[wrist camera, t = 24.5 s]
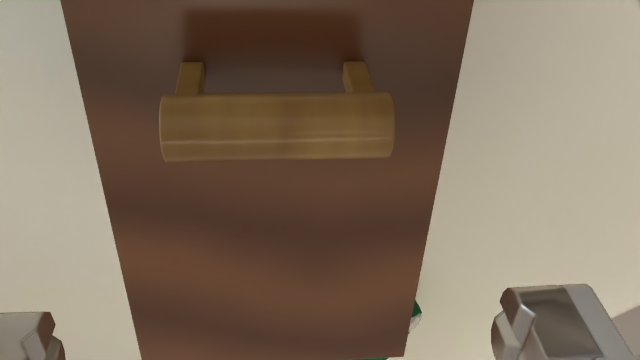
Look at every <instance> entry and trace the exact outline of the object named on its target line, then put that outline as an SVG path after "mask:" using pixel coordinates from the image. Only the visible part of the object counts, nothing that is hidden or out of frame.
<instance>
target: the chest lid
mask: <svg viewBox="0 0 640 360" xmlns="http://www.w3.org/2000/svg"><path fill="white" fill-rule="evenodd" d="M473 2H474V0H61V5H62V9H63V14H64V18H65V22H66V27H67V31H68V36H69V40H70V45H71V49H72V53H73V58H74V62H75V67H76V71H77V76H78V80H79V84H80V89H81V93H82V98H83V102H84V106H85V111H86V115H87V120H88V124H89V129H90V133H91V137H92V142H93V146H94V151H95V155H96V160H97V164H98V168H99V173H100V177H101V182H102V186H103V191H104V195H105V199H106V204H107V208H108V213H109V217H110V221H111V226H112V230H113V235H114V239H115V244H116V248H117V252H118V257H119V261H120V266H121V270H122V275H123V279H124V283H125V288H126V292H127V297H128V301H129V305H130V310H131V314H132V319H133V323H134V328H135V332H136V336H137V341H138V345H139V350H140V354H141V359H142V360H351V359H370V358H388V357H403V356H404V352H405V347H406V342H407V337H408V332H409V327H410V322H411V316H412V311H413V306H414V301H415V296H416V291H417V286H418V281H419V276H420V271H421V266H422V261H423V256H424V251H425V245H426V240H427V235H428V230H429V225H430V220H431V215H432V210H433V205H434V200H435V195H436V190H437V185H438V180H439V174H440V169H441V164H442V159H443V154H444V149H445V144H446V139H447V134H448V129H449V124H450V119H451V114H452V108H453V103H454V98H455V93H456V88H457V83H458V78H459V73H460V68H461V63H462V58H463V53H464V48H465V43H466V37H467V32H468V27H469V22H470V17H471V12H472V7H473Z"/></svg>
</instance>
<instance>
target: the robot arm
mask: <svg viewBox="0 0 640 360" xmlns="http://www.w3.org/2000/svg"><path fill="white" fill-rule="evenodd" d="M500 303H501V305H502V308H503V311H502V312H500V313H499V314H498V315H497V316H495V317H494V321H493V324H492V328H491V344H492V348H493V353H494V356H495V359H496V360H640V355H633V354H632V352H631V350H630V349H629V347H628V346H627V344H626V342H625V341H624V339H623V338H622V336H621V334H620V333H619V331H618V329H617V328H616V326H615V325H614V323H613V322H612V320H611V318H610V317H609V315H608V313H607V312H606V310H605V309H604V307H603V305H602V304H601V302H600V301H599V299H598V297H597V296H596V294H595V292H594V291H593V289H592V288H591V287H590V286H588V285H587V284H570V285H545V286H529V287H513V288H507V289H506V290H505V291H504V292H503V294H502V297H501V300H500ZM54 328H55V322H54V320H53V318H52V315H51V313H50V312H14V313H0V360H65V352H64V348H63V345H62V342H61V341H60V340H59V339H57V338H56V337H54V336H53V335H52V334H53V331H54Z"/></svg>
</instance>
